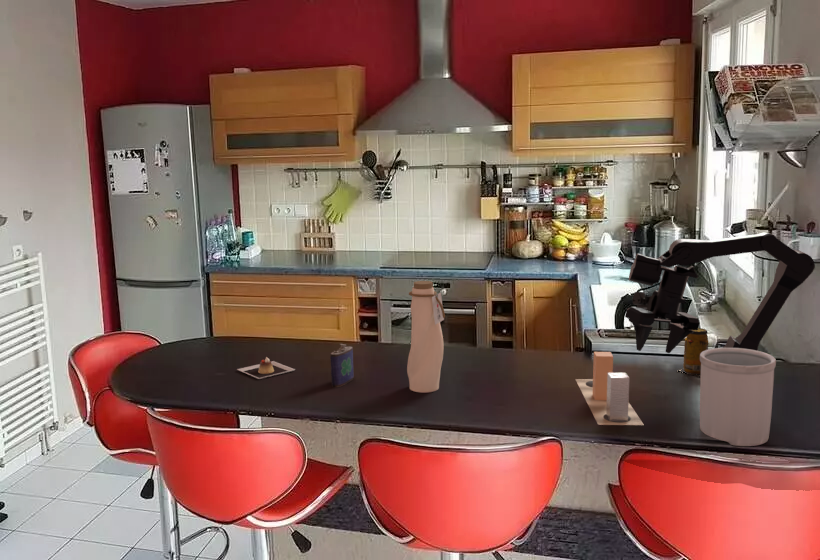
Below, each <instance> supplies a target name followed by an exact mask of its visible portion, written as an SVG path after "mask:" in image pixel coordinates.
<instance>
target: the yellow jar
mask: <svg viewBox="0 0 820 560" xmlns="http://www.w3.org/2000/svg"><path fill="white" fill-rule="evenodd" d="M692 331H693V333H690V334H689V335H688V336H686V337H685V338H684V346H683V347H684V350H683V352H684V353H683V367H682V368H683V369H684V371H685V372H686V373H687V374H686V375H691V376H695V377H700V378H701V362H700V354H701V352H703V351H705V350H709V340H708V329H705V328H701V327H698V330H692ZM678 370H679V371H681V370H682V369H678ZM682 374H684V373H683V372H682Z"/></svg>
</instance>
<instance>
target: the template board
mask: <svg viewBox="0 0 820 560" xmlns="http://www.w3.org/2000/svg"><path fill="white" fill-rule="evenodd" d="M575 382H576V383H577V385H578V387H579V390H580V392H581V394H582V395H583V398H584V400H585V402H586V403H587V406H588V407H589V410H590V412H591V413H592V415H593V417H594V419H595V421H596V423H597V425H598V426H599V425H601V426H602V425H603V426H644V423H643V421H642V419H641V418H640V417H639V415H638V414H637V412H636V411H635V409H634V408H633V407H632V404H630V402H629V403H628V421H610V420H609V419H608V417H607V415H606V406H607V400H595V399H594V397H593V378H587V379H586V378H584V379H583V378H578V379H577V378H575Z"/></svg>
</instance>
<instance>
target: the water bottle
mask: <svg viewBox="0 0 820 560" xmlns="http://www.w3.org/2000/svg"><path fill="white" fill-rule="evenodd" d="M433 285H434V284H433V281H429V280H418V281H417V280H416V281H413V286H412V289H411V290H410V291H409V292H408V295H409V296H411V302H410V314H411V331H410V332H411V335H410V338H411V340H410V342H411V343H410V350H409V353H408V357H407V367H406V372H407V377H408V382H409V390H410V391H413V392H416V393H421V394H423V393H424V394H425V393H432V392H436V391H438V390H439V389H440V378H441V368H442V364H443V359H444V347H445V346H444V338H443V337H444V335H443V331H442V330H443V329H442V326H441V322H442V321H445V318H446V313H445V309H444V307H443V297H442V292H439V293H438V292H437V291H436V290H435V289H434V286H433Z"/></svg>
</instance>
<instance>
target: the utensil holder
mask: <svg viewBox="0 0 820 560" xmlns="http://www.w3.org/2000/svg"><path fill="white" fill-rule="evenodd" d="M700 362H701V377H700V382H699V383H700V388H699V389H700V391H699V429H700V431H701V432H702V433H704V434H705V435H707V436H708V437H711V438H713V439H715V440H716V439H717V440H719V441H724V442H727V443H728V444H729V445H730V446H734V447H735V446H736V447H753V446H754V447H755V446H760V445H763V444H765V443H767V442H768V440H769V438H770V437H769V436H770V431H771V421H772V420H771V419H772V410H773V409H772V407H773V395H774V394H773V393H774V392H773V391H774V380H775V368H776V364H777V360H776V357H774V356H773V355H772V354H769V353H767V352H763V351H759V350H758V351H756V350H750V349H743V348H723V347H715V348H708V350H705V351H703V352H701V354H700Z"/></svg>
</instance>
